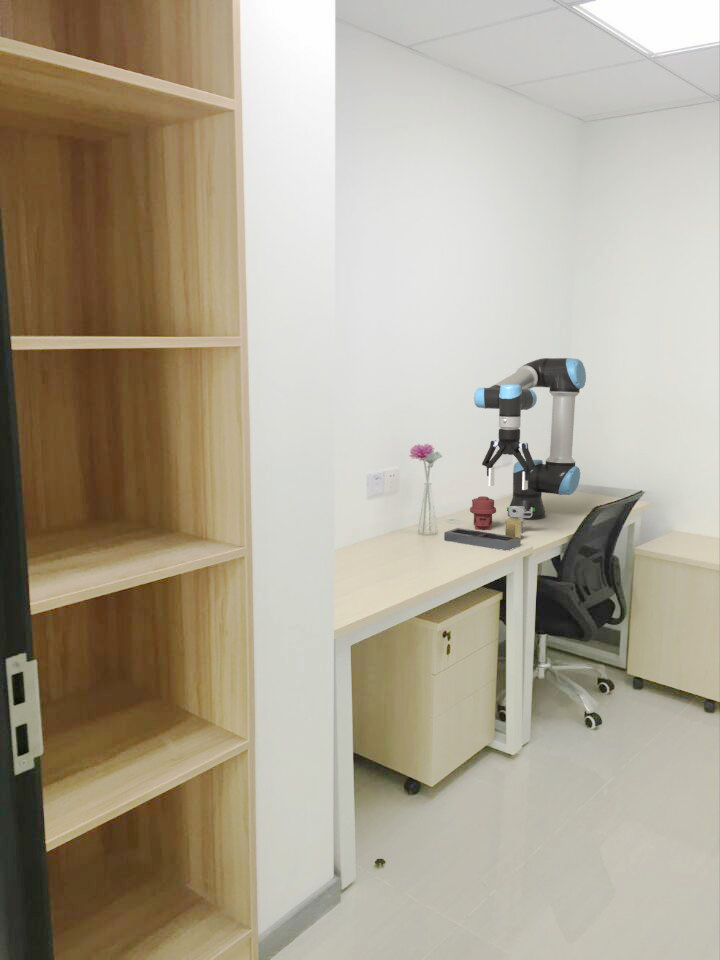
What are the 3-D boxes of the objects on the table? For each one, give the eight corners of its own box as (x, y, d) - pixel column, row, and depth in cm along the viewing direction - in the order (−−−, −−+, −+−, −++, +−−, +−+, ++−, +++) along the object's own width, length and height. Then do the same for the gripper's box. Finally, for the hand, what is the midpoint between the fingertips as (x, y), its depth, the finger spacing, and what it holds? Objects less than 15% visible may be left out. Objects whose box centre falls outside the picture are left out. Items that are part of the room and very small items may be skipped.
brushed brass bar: (510, 539, 306) (511, 517, 305) (520, 540, 303) (520, 518, 302) (505, 541, 303) (505, 519, 302) (515, 542, 300) (515, 520, 299)
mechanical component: (533, 534, 313) (534, 508, 312) (506, 533, 315) (506, 507, 314) (533, 532, 316) (534, 506, 314) (506, 531, 318) (507, 505, 316)
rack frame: (457, 535, 311) (457, 527, 311) (520, 545, 295) (520, 537, 295) (444, 540, 304) (444, 532, 304) (507, 550, 288) (508, 542, 288)
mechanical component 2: (500, 530, 321) (477, 532, 317) (487, 525, 330) (465, 527, 326) (501, 498, 319) (478, 500, 315) (488, 494, 328) (465, 496, 324)
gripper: (473, 427, 301) (472, 485, 304) (536, 431, 285) (534, 492, 288) (484, 425, 306) (483, 482, 310) (546, 429, 291) (544, 489, 294)
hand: (507, 487), depth 299 cm, fingers open, 13 cm apart
